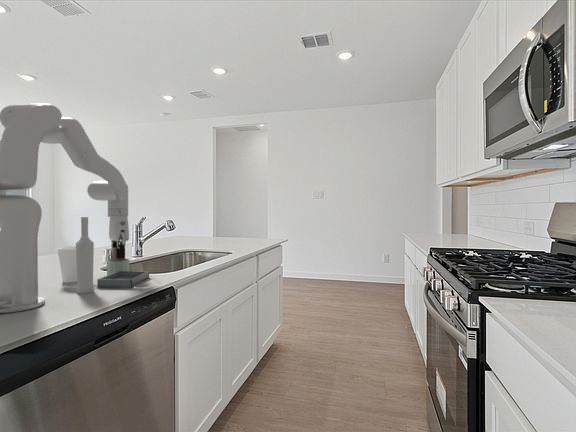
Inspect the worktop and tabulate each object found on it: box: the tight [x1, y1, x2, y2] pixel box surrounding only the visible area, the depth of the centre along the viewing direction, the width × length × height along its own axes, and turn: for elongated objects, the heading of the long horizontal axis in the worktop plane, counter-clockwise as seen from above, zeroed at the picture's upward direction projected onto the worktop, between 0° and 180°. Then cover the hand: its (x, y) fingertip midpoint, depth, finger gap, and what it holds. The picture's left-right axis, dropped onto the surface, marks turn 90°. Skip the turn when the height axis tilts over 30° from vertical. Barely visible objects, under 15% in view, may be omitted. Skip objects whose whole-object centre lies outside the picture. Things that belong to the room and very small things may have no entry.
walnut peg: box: [110, 247, 126, 261], centre depth 139 cm, size 5×5×11 cm
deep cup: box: [106, 257, 131, 276], centre depth 139 cm, size 8×8×6 cm
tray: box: [96, 270, 150, 289], centre depth 126 cm, size 15×12×3 cm
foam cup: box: [57, 245, 77, 283], centre depth 127 cm, size 10×9×13 cm
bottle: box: [75, 216, 95, 295], centre depth 113 cm, size 5×5×25 cm
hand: (118, 256), depth 139 cm, fingers closed on walnut peg, 5 cm apart
